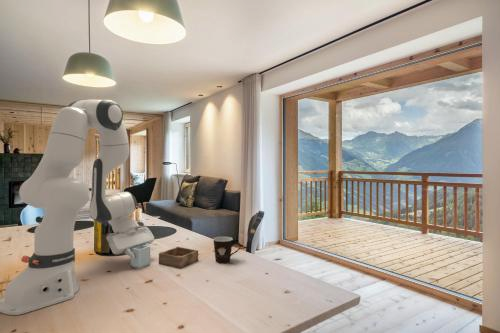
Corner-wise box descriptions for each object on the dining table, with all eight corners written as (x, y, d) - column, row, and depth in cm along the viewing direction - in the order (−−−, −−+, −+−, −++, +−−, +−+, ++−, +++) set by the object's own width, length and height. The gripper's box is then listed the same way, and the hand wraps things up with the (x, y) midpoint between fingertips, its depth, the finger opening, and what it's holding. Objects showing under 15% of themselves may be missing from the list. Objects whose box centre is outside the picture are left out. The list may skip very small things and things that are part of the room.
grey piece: (139, 269, 126) (139, 249, 126) (130, 267, 129) (130, 248, 129) (150, 264, 132) (150, 246, 132) (141, 262, 134) (142, 244, 134)
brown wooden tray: (180, 268, 128) (180, 257, 128) (158, 263, 133) (158, 253, 133) (198, 260, 138) (198, 250, 138) (177, 256, 144) (177, 246, 144)
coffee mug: (209, 262, 136) (209, 239, 136) (220, 257, 144) (220, 235, 143) (231, 266, 131) (232, 243, 130) (241, 261, 138) (241, 238, 138)
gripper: (108, 230, 124) (124, 258, 120) (147, 221, 142) (162, 245, 138) (101, 239, 126) (117, 267, 122) (140, 230, 144) (155, 254, 140)
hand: (141, 255), depth 130 cm, fingers closed on grey piece, 6 cm apart
